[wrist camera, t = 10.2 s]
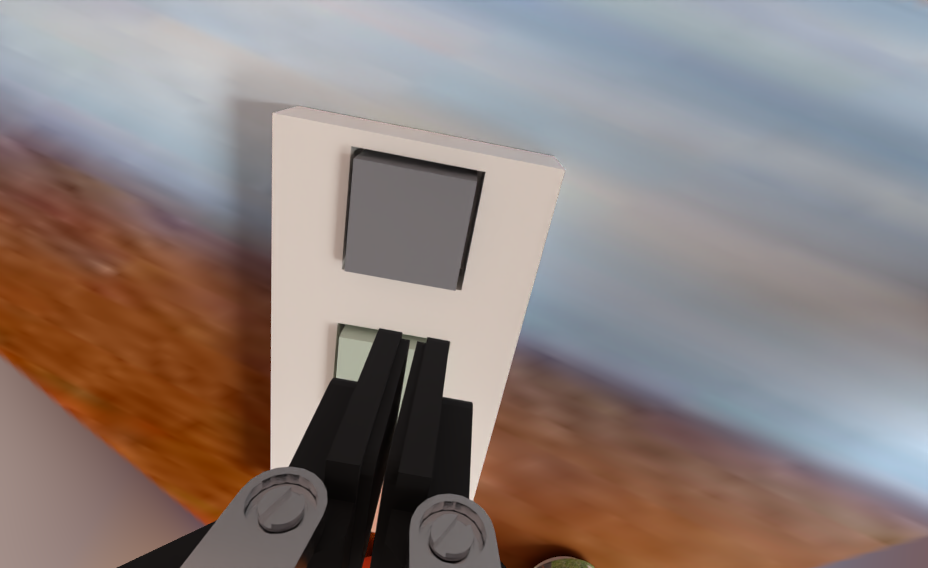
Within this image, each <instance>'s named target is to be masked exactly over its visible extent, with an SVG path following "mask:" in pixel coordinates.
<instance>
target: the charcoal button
mask: <svg viewBox="0 0 928 568" xmlns="http://www.w3.org/2000/svg"><path fill="white" fill-rule="evenodd" d="M476 186H477V170H473V169H467V168H462V167H457V166H452V165H447V164H442V163H436V162H431V161H426V160H421V159H416V158H410V157H405V156H400V155H395V154H390V153H384V152H379V151H374V150H369V149H364V150H363V151H362V152H361V153H360V154H358V155H357V156H356V157H355V158H354V159H353V171H352V184H351V196H350V209H349V221H348V233H347V246H346V258H345V271H346V272H352V273H358V274H363V275H369V276H375V277H380V278H386V279H391V280H397V281H403V282H408V283H414V284H420V285H425V286H431V287H436V288H442V289H448V290H453V291H456V286H457V281H458V276H459V271H460V266H461V261H462V256H463V251H464V246H465V241H466V236H467V231H468V226H469V221H470V216H471V211H472V206H473V201H474V196H475V191H476Z"/></svg>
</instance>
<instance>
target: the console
mask: <svg viewBox="0 0 928 568" xmlns="http://www.w3.org/2000/svg"><path fill="white" fill-rule="evenodd" d="M364 149H369V150H374V151H379V152H384V153H390V154H395V155H400V156H405V157H410V158H416V159H421V160H426V161H431V162H436V163H442V164H447V165H452V166H457V167H462V168H467V169H473V170H477V186H476V191H475V196H474V201H473V206H472V211H471V216H470V221H469V226H468V231H467V236H466V241H465V246H464V251H463V256H462V261H461V266H460V271H459V276H458V281H457V286H456V291H453V290H448V289H442V288H436V287H431V286H425V285H420V284H414V283H408V282H403V281H397V280H391V279H386V278H380V277H375V276H369V275H363V274H358V273H352V272H346V271H345V258H346V246H347V233H348V221H349V209H350V196H351V184H352V171H353V159H354V158H355V157H356V156H357V155H358V154H360V153H361V152H362V151H363V150H364ZM564 173H565V169H564V168H563V166H562V165H561V164H560V162H559V161H558V160H557V159H556V157H555V156H551V155H546V154H541V153H536V152H531V151H526V150H520V149H515V148H510V147H505V146H500V145H495V144H490V143H485V142H480V141H475V140H470V139H464V138H459V137H454V136H449V135H444V134H439V133H434V132H429V131H424V130H419V129H414V128H408V127H403V126H398V125H393V124H388V123H383V122H378V121H373V120H368V119H363V118H358V117H352V116H347V115H342V114H337V113H332V112H327V111H322V110H317V109H312V108H307V107H302V106H296V107H292V108H288V109H285V110H281V111H277V112H273V113H272V268H271V468H270V470H272V469H275V468H280V467H289V465H290V463H291V461H292V458H293V456H294V454H295V452H296V450H297V448H298V446H299V444H300V442H301V440H302V438H303V436H304V434H305V432H306V430H307V428H308V426H309V424H310V422H311V420H312V418H313V416H314V414H315V411H316V409H317V407H318V405H319V403H320V401H321V399H322V397H323V395H324V393H325V391H326V389H327V387H328V385H329V383H330V381H331V380H332V378H334V377H335V378H336V370H337V358H338V345H339V336H340V334H341V332H342V330H343V328H344V326H345V324H348V325H353V326H359V327H365V328H371V329H377V330H379V328H382V329H387V330H393V331H398V332H402V334H406V335H412V336H418V337H423V338H427V337H431V338H436V339H442V340H447V341H450V344H449V352H448V359H447V367H446V375H445V382H444V390H443V397H447V398H452V399H458V400H463V401H469V402H472V403H473V419H472V443H471V468H470V492H469V499H470V500H472V501H473V499H474V496H475V492H476V488H477V485H478V481H479V478H480V474H481V470H482V467H483V463H484V460H485V456H486V453H487V449H488V445H489V442H490V438H491V435H492V431H493V427H494V424H495V420H496V417H497V413H498V410H499V406H500V402H501V399H502V395H503V392H504V388H505V384H506V381H507V377H508V374H509V370H510V367H511V363H512V359H513V356H514V352H515V349H516V345H517V342H518V338H519V334H520V331H521V327H522V324H523V320H524V316H525V313H526V309H527V306H528V302H529V299H530V295H531V291H532V288H533V284H534V281H535V277H536V273H537V270H538V266H539V263H540V259H541V256H542V252H543V248H544V245H545V241H546V238H547V234H548V230H549V227H550V223H551V220H552V216H553V213H554V209H555V205H556V202H557V198H558V195H559V191H560V187H561V184H562V180H563V177H564Z"/></svg>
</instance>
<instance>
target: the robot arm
mask: <svg viewBox="0 0 928 568" xmlns="http://www.w3.org/2000/svg"><path fill="white" fill-rule="evenodd" d="M449 344H450V341H447V340H442V339H436V338H431V337H427V341H426V343H424V342H419V341H417V344H416V348H415V352H414V356H413V360H412V364H411V368H410V372H409V376H408V380H407V384H406V388H405V392H404V396H403V400H402V404H401V408H400V412H399V407H400V400H401V394H402V388H403V382H404V376H405V370H406V364H407V358H408V351H409V345H410V340H408V339H402V332H398V331H393V330H387V329H382V328H379V330H378V332H377V334H376V337H375V339H374V342H373V344H372V347H371V349H370V352H369V354H368V357H367V359H366V362H365V364H364V367H363V369H362V372H361V374H360V377H359V379H358V382H357V381H352V380H346V379H341V378H335V377H334V378H332V380H331V381H330V383H329V385H328V387H327V389H326V391H325V393H324V395H323V397H322V399H321V401H320V403H319V405H318V407H317V409H316V411H315V414H314V416H313V418H312V420H311V422H310V424H309V426H308V428H307V430H306V432H305V434H304V436H303V438H302V440H301V442H300V444H299V446H298V448H297V450H296V452H295V454H294V456H293V458H292V461H291V463H290V465H289V467H280V468H275V469H272V470H269V471H265V472H263V473H261V474H260V475H258V476H256V477H254V478H253V479H251V480H250V481H249V482H248V483H247V484H246V485H245V486H244V487H243V488H242V489H241V490H240V491H239V493H238V494H237V495H236V497H235V498H234V499H233V500H232V502H231V503H230V504H229V506H228V507H227V508H226V509H225V511H224V512H223V513H222V515H221V516H220V517H219V518H218V520H217V521H215V522H213V523H210V524H208V525H206V526H204V527H202V528H200V529H198V530H196V531H194V532H192V533H189V534H187V535H185V536H183V537H181V538H179V539H177V540H175V541H172V542H170V543H168V544H166V545H164V546H162V547H160V548H158V549H155V550H153V551H151V552H149V553H147V554H145V555H143V556H141V557H139V558H136V559H135V560H132V561H130V562H128V563H126V564H124V565H122V566H120V567H117V568H362V566H363V562H364V558H365V554H366V550H367V546H368V542H369V538H370V533H371V529H372V525H373V521H374V517H375V513H376V509H377V505H378V501H379V497H380V493H381V489H382V494H381V500H380V506H379V513H378V519H377V525H376V532H375V538H374V544H373V551H372V557H371V563H370V568H506V567H505V566H504V565H503V563H502V562H501V561H500V558H499V552H498V546H497V541H496V535H495V530H494V528H493V525H492V522H491V519H490V518H489V516H488V515H487V514H486V512H485V511H484V509H482V508H481V507H480V506H479V505H478V504H476V503H475V502H474V501H472V500H470V499H469V492H470V468H471V443H472V419H473V403H472V402H469V401H463V400H458V399H452V398H447V397H443V390H444V382H445V375H446V367H447V359H448V352H449ZM398 413H399V416H398ZM397 419H398V420H397ZM382 485H383V487H382Z"/></svg>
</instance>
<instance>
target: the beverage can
mask: <svg viewBox="0 0 928 568" xmlns="http://www.w3.org/2000/svg"><path fill="white" fill-rule="evenodd" d="M534 568H595V567H594V566H593V565H591V564H590V563H588V562H586V561H584V560H580V559H576V558H573V557H568V556H560V557H554V558H550V559H547V560H545V561H543V562H541V563H539V564H538V565H536V566H535V567H534Z"/></svg>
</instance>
